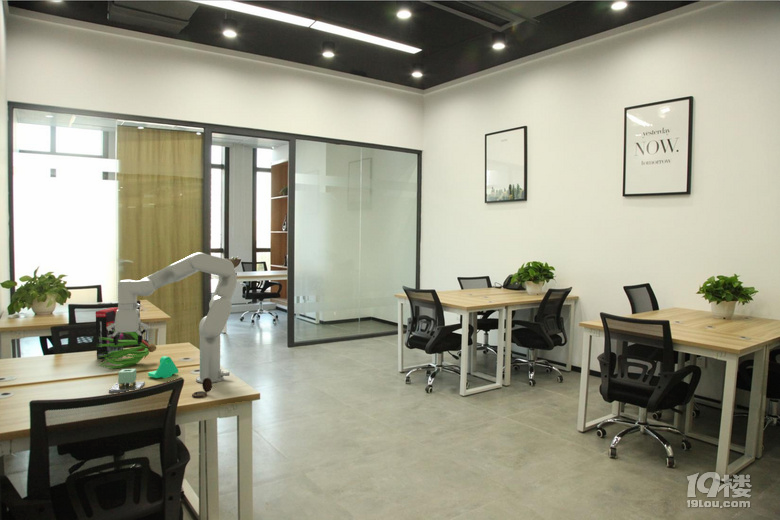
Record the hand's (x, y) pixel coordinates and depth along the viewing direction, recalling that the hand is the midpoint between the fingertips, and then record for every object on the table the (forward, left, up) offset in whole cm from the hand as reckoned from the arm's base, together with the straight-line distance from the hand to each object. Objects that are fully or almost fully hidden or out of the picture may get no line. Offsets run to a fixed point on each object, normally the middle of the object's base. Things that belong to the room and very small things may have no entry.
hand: (127, 344), depth 231 cm
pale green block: (0, 0, -17) cm, 17 cm away
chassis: (0, 0, -20) cm, 20 cm away
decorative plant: (+12, -44, -21) cm, 50 cm away
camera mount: (-11, -19, -21) cm, 30 cm away
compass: (-34, +18, -21) cm, 44 cm away
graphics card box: (+27, -71, -21) cm, 79 cm away
